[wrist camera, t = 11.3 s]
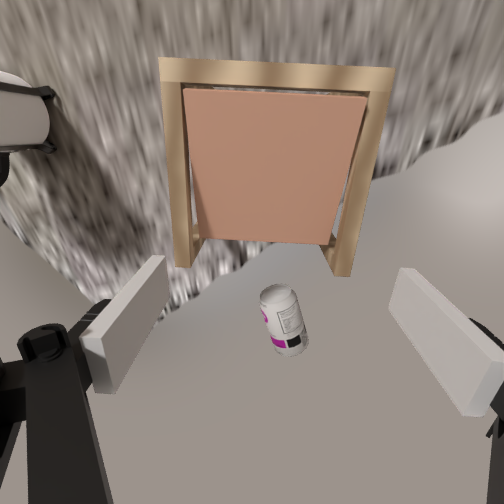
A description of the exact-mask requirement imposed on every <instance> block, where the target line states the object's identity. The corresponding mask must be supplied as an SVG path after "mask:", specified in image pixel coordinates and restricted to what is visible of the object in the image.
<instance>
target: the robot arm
mask: <svg viewBox="0 0 504 504" xmlns="http://www.w3.org/2000/svg"><path fill="white" fill-rule="evenodd" d="M169 298H170V292H169V283H168V274H167V264H166V256H160V255H152V256H151V257H150V258H149V259H148V260H147V261H146V263H145V264H144V265H143V266H142V267H141V268H140V269H139V270H138V272H137V273H136V274H135V275H134V276H133V277H132V278H131V279H130V280H129V282H128V283H127V284H126V285H125V286H124V287H123V288H122V289H121V291H120V292H119V293H118V294H117V295H116V296H115V297H114V298H113V299H104V300H102V301H100V302H99V303H97V304H95V305H94V306H93V307H92V308H91V309H90V310H89V311H88V312H87V314H85V315H84V316H83V317H82V318H81V320H80V321H78V322H77V324H75V325H74V326H73V328H72V329H70V331H69V332H68V333H67V331H66V328H65V327H64V326H63V325H61V324H58V323H57V324H46V325H42V326H39V327H36V328H34V329H32V330H30V331H29V332H27V333H25V334H24V335H23V336H22V337H21V338H20V339H19V340H18V343H17V346H18V349H19V351H20V353H21V356H22V358H23V360H18V361H13V362H7V363H3V362H2V360H1V358H0V488H1V485H2V482H3V479H4V475H5V472H6V469H7V466H8V463H9V460H10V457H11V454H12V451H13V448H14V445H15V442H16V438H17V435H18V432H19V429H20V426H21V423H22V421H25V420H26V428H27V465H28V466H27V467H28V502H29V503H28V504H113V499H112V495H111V491H110V487H109V483H108V479H107V475H106V471H105V467H104V463H103V459H102V455H101V451H100V447H99V442H98V438H97V435H96V430H95V427H94V422H93V418H92V414H91V410H90V406H89V403H88V398H87V395H86V391H87V389H88V388H89V386H90V385H91V383H93V387H94V391H95V393H104V394H115V393H116V391H117V389H118V388H119V386H120V384H121V383H122V381H123V379H124V377H125V375H126V374H127V372H128V370H129V368H130V367H131V365H132V363H133V361H134V359H135V358H136V356H137V354H138V352H139V351H140V349H141V347H142V345H143V343H144V342H145V340H146V338H147V337H148V335H149V333H150V331H151V329H152V328H153V326H154V324H155V322H156V321H157V319H158V317H159V315H160V314H161V312H162V310H163V308H164V306H165V305H166V303H167V301H168V299H169ZM388 309H389V311H390V312H391V313H392V315H393V317H394V318H395V320H396V321H397V322H398V324H399V325H400V327H401V328H402V330H403V331H404V332H405V334H406V335H407V337H408V338H409V340H410V341H411V343H412V344H413V345H414V347H415V348H416V350H417V351H418V353H419V354H420V356H421V357H422V359H423V360H424V361H425V363H426V364H427V366H428V367H429V369H430V370H431V371H432V373H433V374H434V376H435V377H436V379H437V380H438V382H439V383H440V384H441V386H442V387H443V389H444V390H445V392H446V393H447V394H448V396H449V397H450V399H451V400H452V402H453V403H454V405H455V406H456V408H457V409H458V410H459V412H460V413H461V415H462V416H472V417H484V415H485V414H486V412H487V410H488V408H489V407H490V406H491V407H492V409H493V410H494V411H495V412H496V413H497V414H498V417H497V418H496V420H495V421H494V423H493V424H492V426H491V428H490V429H489V431H488V432H487V434H486V436H487V437H488V438H490V436H491V435H492V434H493V438H492V449H491V460H490V471H489V482H488V493H487V504H504V344H502V342H501V341H500V340H499V339H498V338H497V337H494V334H492V333H491V332H490V331H489V330H488V329H487V328H486V327H485V326H483V325H481V324H480V323H478V322H476V321H475V320H473V319H471V318H467V317H466V316H465V315H464V314H463V313H462V312H461V311H460V310H459V309H457V308H456V307H455V306H454V305H453V304H452V303H451V302H450V301H449V300H448V299H447V298H445V297H444V296H443V295H442V294H441V293H440V292H439V291H438V290H437V289H436V288H435V287H434V286H433V285H431V284H430V283H429V282H428V281H427V280H426V279H425V278H424V277H423V276H422V275H421V274H419V273H418V272H417V271H416V270H415V269H413V268H400V270H399V273H398V277H397V280H396V283H395V287H394V290H393V293H392V296H391V300H390V303H389V307H388Z"/></svg>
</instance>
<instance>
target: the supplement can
mask: <svg viewBox="0 0 504 504" xmlns="http://www.w3.org/2000/svg"><path fill="white" fill-rule="evenodd" d="M259 305H260V308H261V310H262V313H263V316H264V319H265V322H266V324H267V327H268V330H269V333H270V336H271V339H272V342H273V344H274V347H275V350H276V352H278V353H279V354H280V355H283V356H290V357H291V356H296V355H298V354H300V353H302V352H303V351H304V350H305V349H306V347H307V345H308V336H307V332H306V329H305V325H304V322H303V318H302V314H301V311H300V307H299V304H298V300H297V297H296V294H295V292H294V291H293V290H292V289H291V288H290V287H289V286H288V285H286V284H275V285H272V286H270V287H267V288H266V289H265V290H263V291H262V293H261V294H260V301H259Z"/></svg>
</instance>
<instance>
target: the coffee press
mask: <svg viewBox="0 0 504 504" xmlns="http://www.w3.org/2000/svg"><path fill="white" fill-rule="evenodd" d="M54 96H55V93H54V92H53V91H52V89H51V88H50V87H49V86H43V87H38V88H33V87H32V86H30V85H29V84H28V83H27V82H25V81H24V80H23V79H21V78H19V77H17V76H15V75H12V74H9V73H6V72H2V71H0V187H1V186H2V185H3V184H4V183H5V181H6V180H7V178H8V175H9V155H10V153H12V152H11V151H14V152H21V151H25V150H29V149H40V150H42V151H44V152H46V153H49V154H52V153H53V152H54V151H56V150H57V148H56V146H55V145H54V144H52V143H51V142H49V141H48V140H46V138H47V135H48V133H49V127H50V121H49V115H48V111H47V108H46V106H45V104H44V102H43V101H44V100H47V99H50V98H52V97H54Z"/></svg>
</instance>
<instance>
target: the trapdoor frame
mask: <svg viewBox="0 0 504 504" xmlns="http://www.w3.org/2000/svg"><path fill="white" fill-rule="evenodd" d="M158 58H159V70H160V83H161V95H162V107H163V120H164V132H165V145H166V157H167V169H168V182H169V194H170V206H171V219H172V231H173V244H174V256H175V267H184V268H191V266H192V264H193V262H194V260H195V258H196V256H197V254H198V253H199V251H200V249H201V247H202V245H203V243H204V241H205V239H206V238H199V230H198V221H197V223H196V224H195V225H194V227H193V228H192V211H191V190H190V170H189V149H188V131H187V122H186V114H185V105H184V96H183V89H185V88H192V89H213V90H215V89H214V88H212V87H233V88H254V89H275V90H297V91H318V92H331V93H329V94H327V95H340V96H361V97H366V98H367V102H366V106H365V110H364V113H363V117H362V121H361V124H360V128H359V132H358V135H357V139H356V143H355V147H354V150H353V154H352V159H351V164H350V169H349V175H348V180H347V186H346V191H345V196H344V202H343V207H342V212H341V218H340V224H339V228H338V234H337V239H336V238H335V237H334V235H333V234H332V232H331V236H330V239H329V243H328V245H319V246H320V248H321V250H322V252H323V254H324V256H325V258H326V260H327V262H328V264H329V266H330V268H331V270H332V272H333V274H334V276H343V277H350V273H351V269H352V265H353V260H354V255H355V251H356V246H357V242H358V237H359V233H360V228H361V224H362V219H363V215H364V210H365V206H366V201H367V197H368V192H369V188H370V183H371V179H372V174H373V170H374V165H375V161H376V156H377V152H378V147H379V143H380V138H381V134H382V129H383V125H384V120H385V116H386V111H387V107H388V102H389V98H390V93H391V89H392V84H393V80H394V75H395V71H396V68H385V67H363V66H341V65H319V64H297V63H276V62H254V61H232V60H210V59H188V58H166V57H158ZM211 86H212V87H211Z"/></svg>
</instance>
